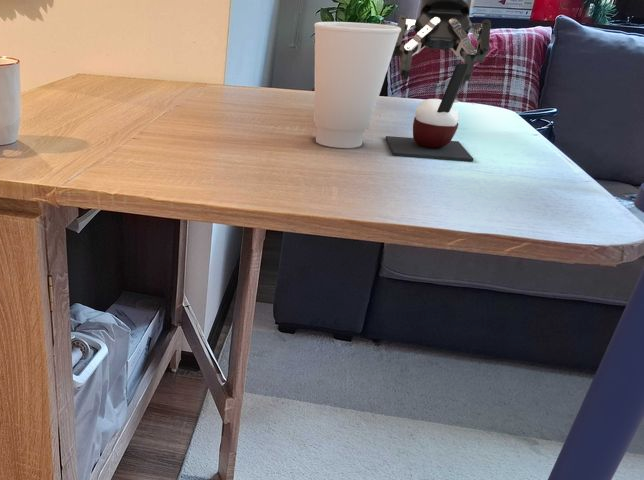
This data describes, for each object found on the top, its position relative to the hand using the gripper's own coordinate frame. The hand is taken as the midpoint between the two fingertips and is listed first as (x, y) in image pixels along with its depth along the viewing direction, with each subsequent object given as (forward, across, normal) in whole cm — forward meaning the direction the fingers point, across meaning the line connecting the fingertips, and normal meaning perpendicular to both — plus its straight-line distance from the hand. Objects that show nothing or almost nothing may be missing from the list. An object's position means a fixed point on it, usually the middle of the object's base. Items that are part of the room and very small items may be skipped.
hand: (434, 78), depth 98 cm
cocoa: (+13, 0, -1) cm, 13 cm away
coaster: (+13, 0, -1) cm, 13 cm away
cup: (+14, -13, -1) cm, 19 cm away
